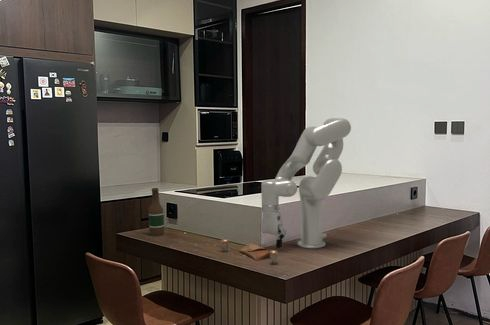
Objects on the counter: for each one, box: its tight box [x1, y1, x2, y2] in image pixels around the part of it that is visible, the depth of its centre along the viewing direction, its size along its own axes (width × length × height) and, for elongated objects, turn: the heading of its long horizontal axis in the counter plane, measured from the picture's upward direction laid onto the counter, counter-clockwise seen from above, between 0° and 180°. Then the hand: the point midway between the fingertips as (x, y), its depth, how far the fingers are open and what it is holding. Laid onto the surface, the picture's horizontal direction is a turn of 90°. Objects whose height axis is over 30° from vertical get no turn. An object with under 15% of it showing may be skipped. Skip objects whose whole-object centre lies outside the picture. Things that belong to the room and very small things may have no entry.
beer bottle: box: [148, 187, 165, 237], centre depth 246 cm, size 8×8×24 cm
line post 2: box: [269, 249, 279, 265], centre depth 194 cm, size 3×3×5 cm
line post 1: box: [220, 238, 230, 253], centre depth 213 cm, size 3×3×5 cm
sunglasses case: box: [236, 241, 270, 262], centre depth 207 cm, size 18×7×7 cm, turn 30°
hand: (270, 245), depth 214 cm, fingers open, 9 cm apart
